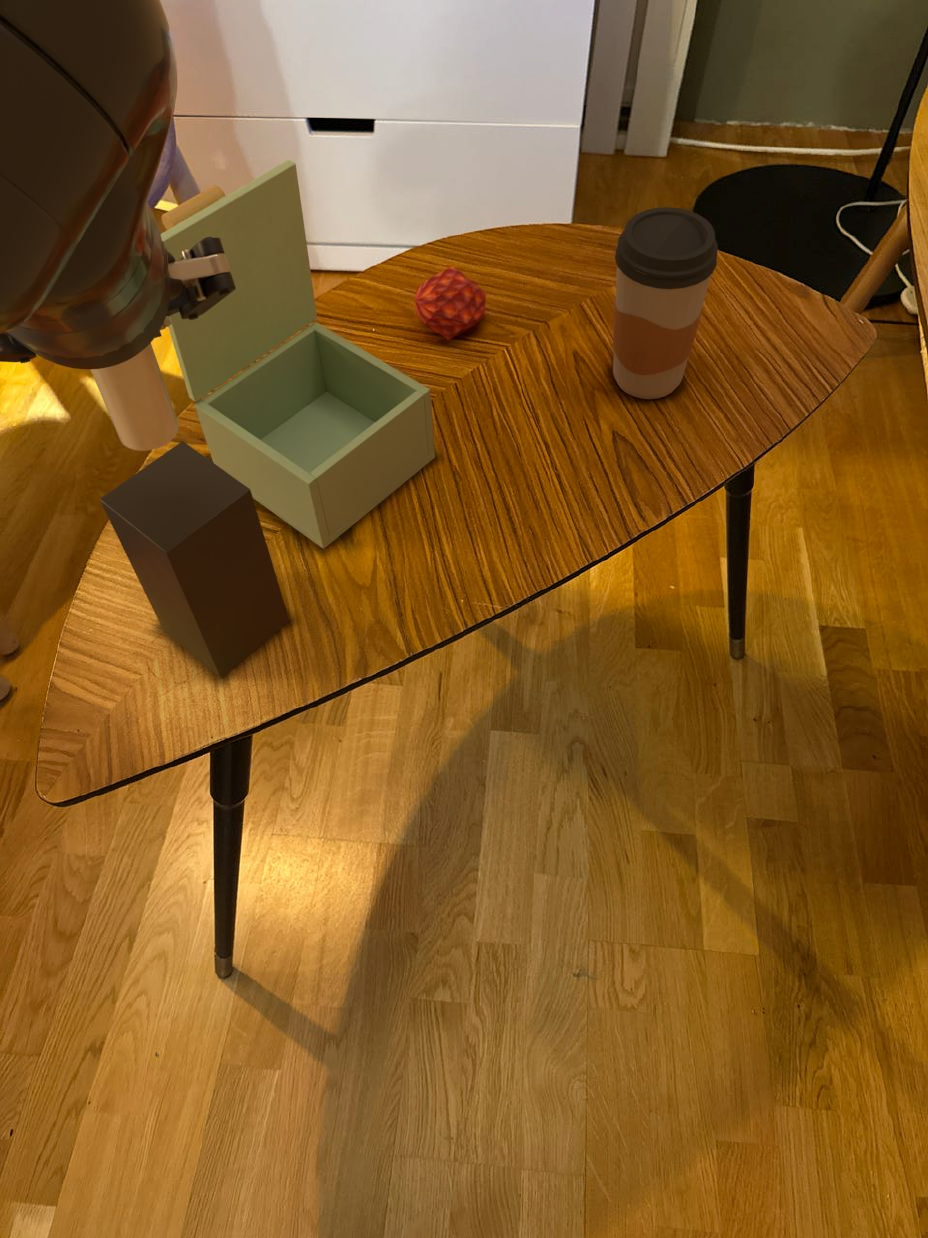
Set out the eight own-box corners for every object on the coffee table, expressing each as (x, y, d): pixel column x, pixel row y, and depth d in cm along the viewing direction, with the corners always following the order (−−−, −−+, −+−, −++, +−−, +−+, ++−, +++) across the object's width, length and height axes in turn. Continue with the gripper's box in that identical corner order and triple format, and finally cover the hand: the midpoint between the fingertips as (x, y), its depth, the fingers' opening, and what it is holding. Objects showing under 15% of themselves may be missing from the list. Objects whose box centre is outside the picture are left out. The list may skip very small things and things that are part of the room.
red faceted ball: (484, 354, 98) (414, 351, 93) (459, 307, 100) (390, 302, 96) (512, 303, 93) (440, 298, 89) (485, 256, 96) (414, 248, 92)
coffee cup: (707, 366, 92) (738, 221, 80) (668, 420, 88) (695, 276, 76) (626, 337, 95) (645, 192, 83) (585, 388, 91) (599, 244, 79)
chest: (435, 457, 87) (430, 389, 80) (323, 549, 81) (308, 483, 75) (327, 389, 92) (315, 321, 86) (216, 471, 86) (193, 404, 80)
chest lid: (296, 162, 73) (250, 136, 75) (150, 248, 67) (104, 218, 69) (317, 318, 85) (278, 293, 87) (195, 402, 79) (155, 373, 81)
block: (221, 679, 74) (166, 552, 62) (162, 629, 77) (98, 498, 64) (290, 621, 77) (250, 489, 65) (231, 575, 80) (182, 440, 67)
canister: (143, 461, 58) (86, 320, 50) (105, 432, 60) (44, 291, 52) (192, 427, 60) (145, 286, 52) (154, 400, 61) (102, 259, 53)
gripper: (211, 125, 40) (213, 232, 57) (-156, 205, 37) (-42, 293, 54) (269, 310, 42) (254, 362, 58) (-80, 400, 39) (8, 428, 55)
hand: (111, 329), depth 56 cm, fingers closed on canister, 3 cm apart
